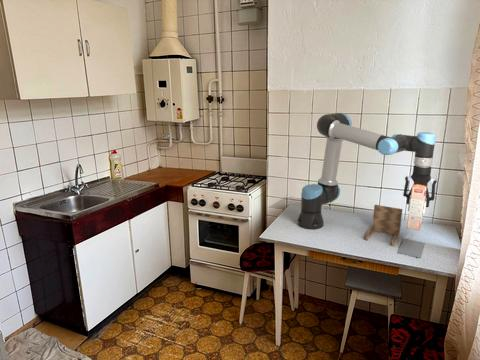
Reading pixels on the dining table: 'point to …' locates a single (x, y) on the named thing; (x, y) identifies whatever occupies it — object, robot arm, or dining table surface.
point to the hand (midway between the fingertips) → (416, 211)
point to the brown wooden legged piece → (386, 221)
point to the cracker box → (416, 206)
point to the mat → (411, 248)
